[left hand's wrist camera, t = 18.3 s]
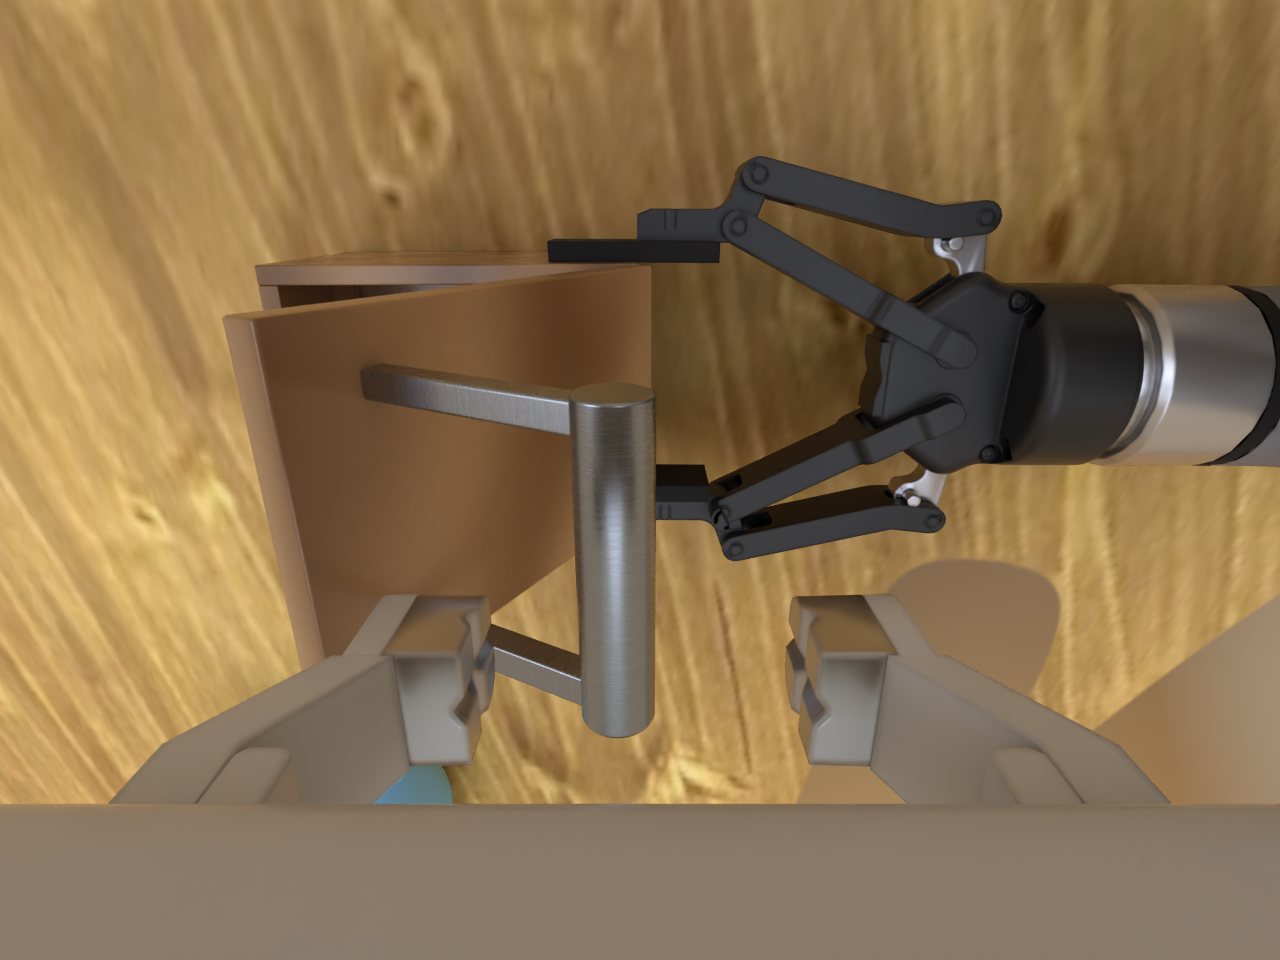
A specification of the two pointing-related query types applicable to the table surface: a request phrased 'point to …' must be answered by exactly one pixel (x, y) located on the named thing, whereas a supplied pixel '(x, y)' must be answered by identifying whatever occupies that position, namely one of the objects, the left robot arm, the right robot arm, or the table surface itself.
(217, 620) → the table surface
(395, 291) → the chest
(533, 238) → the table surface
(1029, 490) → the table surface
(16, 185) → the table surface
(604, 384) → the lid
